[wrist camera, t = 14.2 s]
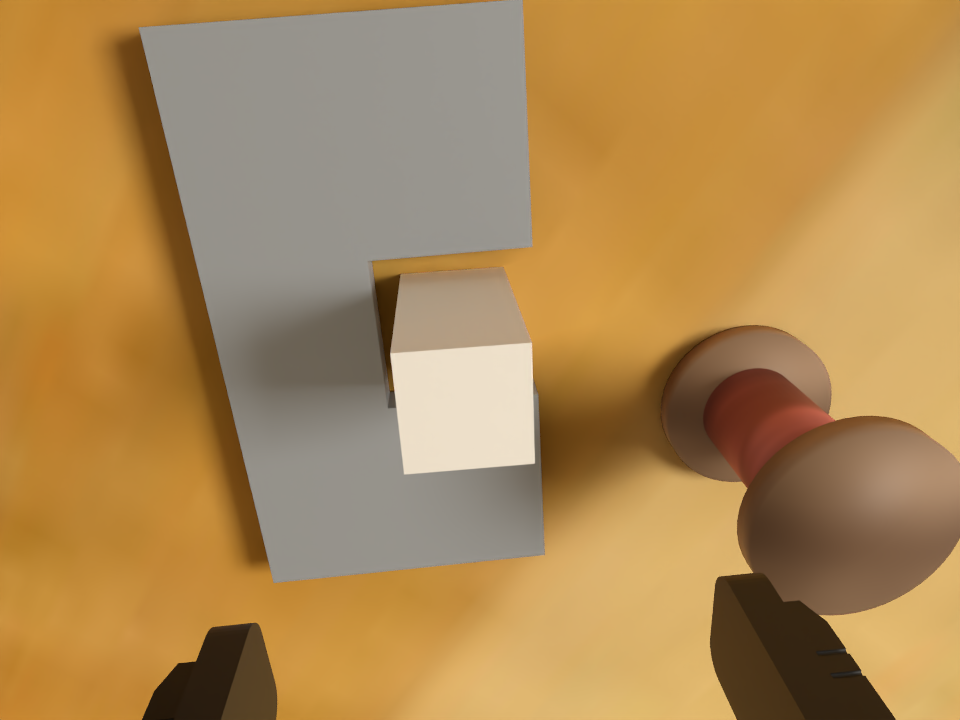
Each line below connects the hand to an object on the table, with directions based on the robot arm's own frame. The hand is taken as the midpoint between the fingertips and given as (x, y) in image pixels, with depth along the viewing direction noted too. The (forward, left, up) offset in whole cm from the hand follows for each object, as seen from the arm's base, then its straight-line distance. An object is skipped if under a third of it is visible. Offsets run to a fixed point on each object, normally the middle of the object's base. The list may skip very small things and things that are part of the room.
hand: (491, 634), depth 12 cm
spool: (+5, +12, -17) cm, 21 cm away
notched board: (0, -3, -17) cm, 17 cm away
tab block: (0, 0, -17) cm, 17 cm away
